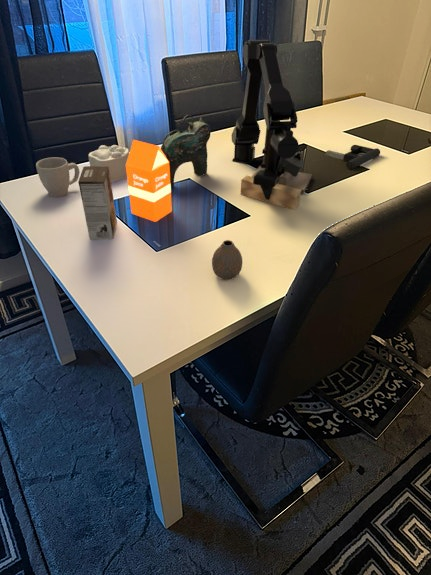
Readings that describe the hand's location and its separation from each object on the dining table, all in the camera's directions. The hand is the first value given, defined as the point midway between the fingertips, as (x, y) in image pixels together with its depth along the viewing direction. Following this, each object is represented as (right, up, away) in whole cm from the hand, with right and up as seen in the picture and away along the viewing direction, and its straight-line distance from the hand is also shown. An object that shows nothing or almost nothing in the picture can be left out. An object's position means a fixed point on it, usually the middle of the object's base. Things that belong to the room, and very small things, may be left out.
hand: (269, 196), depth 126 cm
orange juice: (-35, -6, -7) cm, 36 cm away
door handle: (+34, +20, +29) cm, 49 cm away
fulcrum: (+5, +7, +11) cm, 14 cm away
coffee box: (-46, -13, -15) cm, 50 cm away
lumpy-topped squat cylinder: (-51, +10, +14) cm, 53 cm away
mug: (-63, +2, +2) cm, 63 cm away
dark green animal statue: (-26, +8, +11) cm, 29 cm away
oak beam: (0, -1, +1) cm, 1 cm away
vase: (-14, -25, -30) cm, 41 cm away
